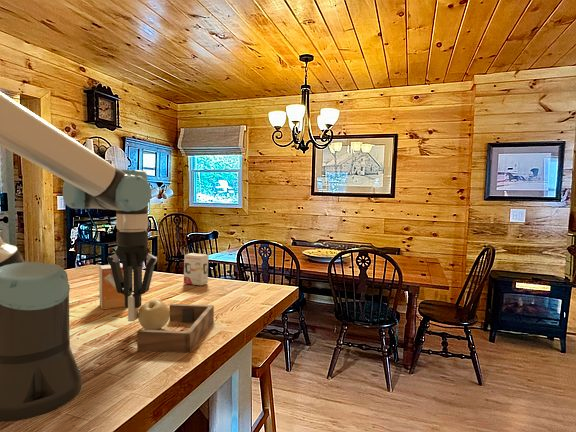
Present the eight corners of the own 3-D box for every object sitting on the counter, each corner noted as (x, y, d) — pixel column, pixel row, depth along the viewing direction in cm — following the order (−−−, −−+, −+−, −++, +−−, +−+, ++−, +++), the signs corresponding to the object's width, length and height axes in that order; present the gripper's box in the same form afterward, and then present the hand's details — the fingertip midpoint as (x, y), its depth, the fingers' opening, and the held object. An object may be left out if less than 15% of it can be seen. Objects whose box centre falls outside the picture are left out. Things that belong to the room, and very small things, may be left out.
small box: (102, 310, 114) (101, 268, 113) (99, 305, 119) (98, 265, 119) (130, 306, 119) (129, 266, 118) (126, 301, 124) (125, 262, 123)
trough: (190, 352, 86) (189, 333, 85) (137, 350, 86) (137, 331, 86) (213, 320, 107) (213, 305, 106) (171, 319, 107) (171, 303, 107)
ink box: (183, 283, 148) (183, 254, 147) (190, 281, 153) (190, 252, 152) (201, 286, 145) (201, 256, 144) (208, 283, 150) (208, 254, 149)
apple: (138, 326, 102) (137, 298, 101) (168, 322, 105) (168, 295, 104) (138, 336, 94) (137, 307, 94) (171, 332, 97) (170, 303, 97)
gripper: (162, 229, 99) (163, 315, 101) (115, 228, 99) (116, 313, 101) (151, 232, 91) (151, 325, 93) (99, 231, 92) (101, 323, 94)
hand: (133, 319), depth 97 cm, fingers closed
